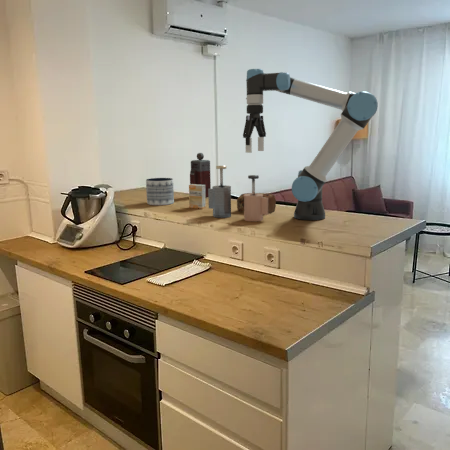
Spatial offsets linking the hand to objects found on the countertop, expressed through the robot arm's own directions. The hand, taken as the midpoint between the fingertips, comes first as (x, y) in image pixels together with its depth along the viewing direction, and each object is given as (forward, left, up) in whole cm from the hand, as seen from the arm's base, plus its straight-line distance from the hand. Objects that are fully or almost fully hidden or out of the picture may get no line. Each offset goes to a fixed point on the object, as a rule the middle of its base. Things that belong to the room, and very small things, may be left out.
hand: (254, 151), depth 217 cm
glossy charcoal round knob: (-2, -2, -23) cm, 23 cm away
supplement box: (-16, -45, -33) cm, 58 cm away
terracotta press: (-2, 0, -33) cm, 33 cm away
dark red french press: (-50, -67, -33) cm, 89 cm away
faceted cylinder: (-2, -21, -33) cm, 39 cm away
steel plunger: (-2, -20, -20) cm, 28 cm away
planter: (-19, -74, -33) cm, 83 cm away
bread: (-22, -11, -33) cm, 41 cm away
